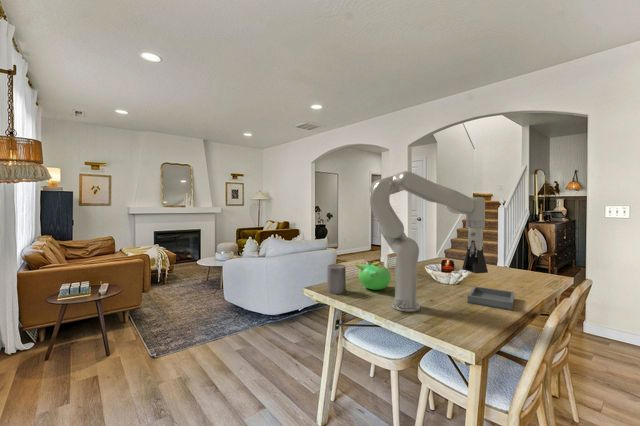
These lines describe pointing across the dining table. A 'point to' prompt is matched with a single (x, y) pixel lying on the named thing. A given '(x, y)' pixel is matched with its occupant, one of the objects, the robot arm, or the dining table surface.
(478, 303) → the tray
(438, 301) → the dining table surface
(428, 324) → the dining table surface
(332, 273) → the pillar candle
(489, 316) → the dining table surface
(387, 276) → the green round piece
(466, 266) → the door stopper
